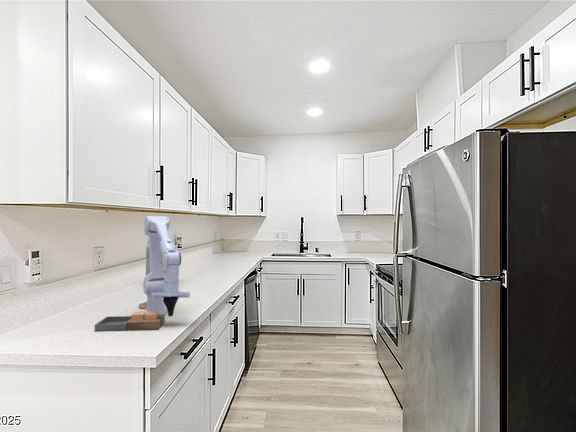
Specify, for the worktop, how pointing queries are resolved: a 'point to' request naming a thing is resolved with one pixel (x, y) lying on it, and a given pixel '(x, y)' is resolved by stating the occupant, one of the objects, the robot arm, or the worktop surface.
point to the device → (149, 260)
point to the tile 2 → (151, 315)
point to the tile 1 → (138, 316)
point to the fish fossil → (143, 305)
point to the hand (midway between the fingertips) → (170, 315)
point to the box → (113, 323)
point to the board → (146, 324)
